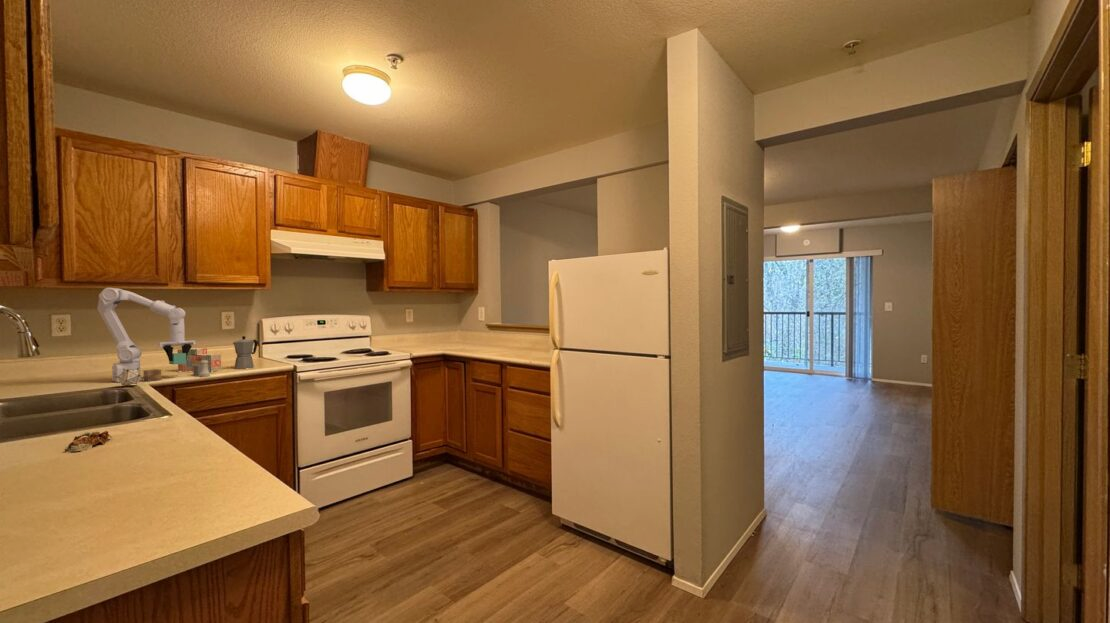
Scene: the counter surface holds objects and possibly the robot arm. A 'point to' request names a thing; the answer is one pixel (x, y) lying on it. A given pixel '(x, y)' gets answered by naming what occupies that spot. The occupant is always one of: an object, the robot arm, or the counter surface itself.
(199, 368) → the gray block
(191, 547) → the counter surface
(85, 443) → the pastry
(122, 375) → the geometric wire lantern
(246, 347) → the coffeepot
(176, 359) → the muted green block
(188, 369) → the stack of blocks
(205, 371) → the rook chess piece
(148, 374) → the walnut block
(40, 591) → the counter surface
